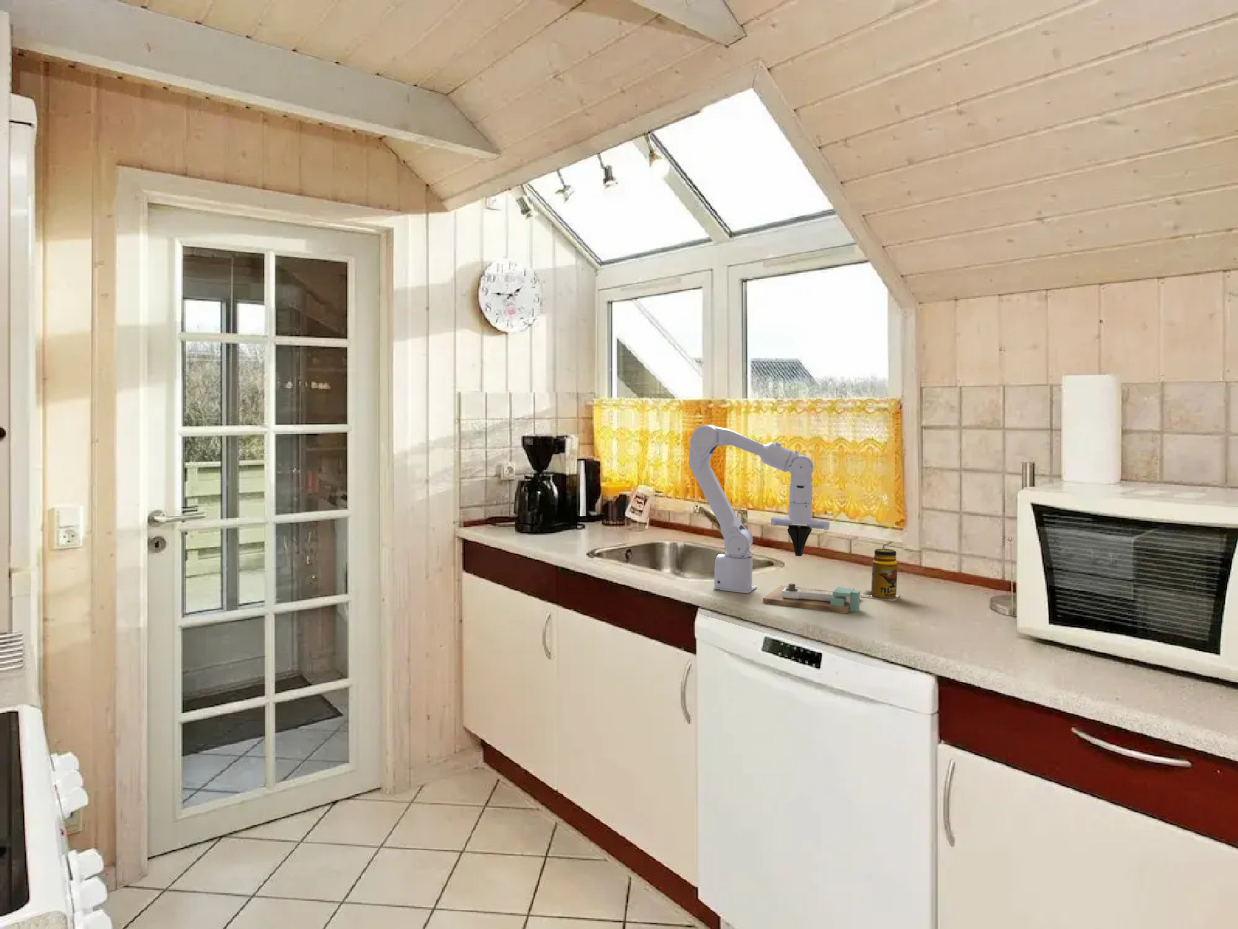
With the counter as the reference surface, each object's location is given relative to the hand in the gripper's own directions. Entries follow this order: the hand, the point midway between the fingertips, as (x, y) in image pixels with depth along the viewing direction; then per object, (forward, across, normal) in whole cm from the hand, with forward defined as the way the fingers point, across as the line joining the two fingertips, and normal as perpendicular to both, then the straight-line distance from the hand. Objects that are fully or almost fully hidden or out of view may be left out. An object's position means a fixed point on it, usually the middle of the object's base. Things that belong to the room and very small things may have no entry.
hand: (798, 555), depth 200 cm
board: (+10, +5, -6) cm, 13 cm away
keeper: (+10, +14, -10) cm, 20 cm away
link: (+8, +6, -9) cm, 14 cm away
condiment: (+10, +19, +8) cm, 23 cm away
